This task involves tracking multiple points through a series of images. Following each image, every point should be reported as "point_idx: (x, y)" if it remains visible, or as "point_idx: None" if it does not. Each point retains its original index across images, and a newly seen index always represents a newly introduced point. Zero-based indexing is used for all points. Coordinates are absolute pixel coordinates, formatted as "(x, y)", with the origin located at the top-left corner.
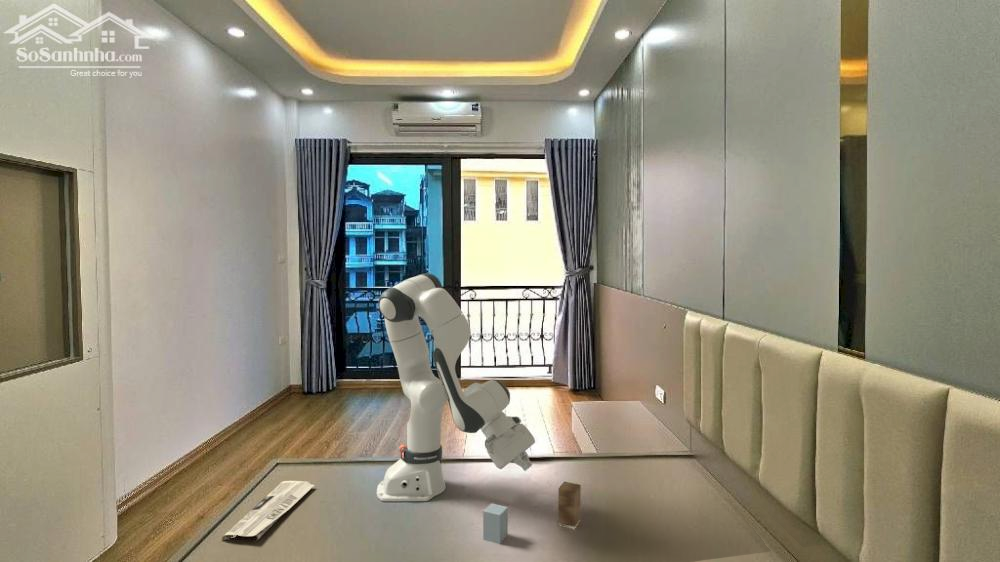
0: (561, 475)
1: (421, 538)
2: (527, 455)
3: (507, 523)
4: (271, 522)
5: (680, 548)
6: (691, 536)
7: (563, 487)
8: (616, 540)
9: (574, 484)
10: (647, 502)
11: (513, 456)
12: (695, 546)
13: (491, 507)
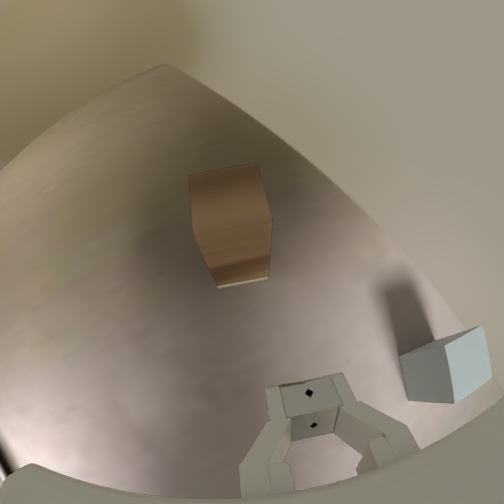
0: (24, 394)
1: None
2: (255, 453)
3: (416, 352)
4: None
5: (206, 98)
6: (163, 101)
7: (252, 208)
8: (243, 155)
9: (198, 191)
10: (73, 181)
11: (499, 413)
12: (189, 91)
13: (471, 380)
